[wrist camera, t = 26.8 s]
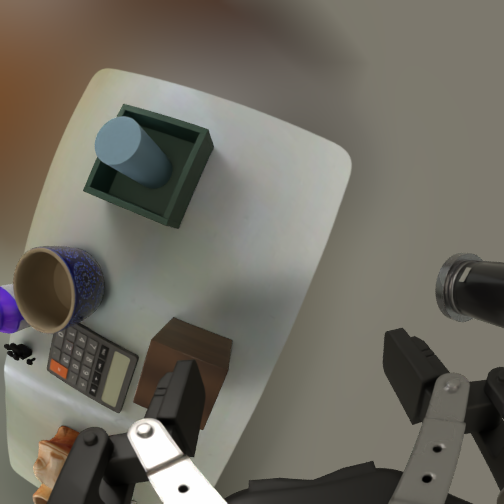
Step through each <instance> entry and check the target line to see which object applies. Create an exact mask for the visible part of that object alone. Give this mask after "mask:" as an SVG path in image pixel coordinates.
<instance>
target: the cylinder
mask: <svg viewBox="0 0 504 504" xmlns="http://www.w3.org/2000/svg"><path fill="white" fill-rule="evenodd" d="M95 151H96V154H97V156H98V158H99V159H100V160H101V161H102V162H103V163H105V164H107V165H109V166H110V167H112V168H114V169H115V170H117V171H119V172H121V173H122V174H124V175H126V176H128V177H129V178H131V179H133V180H135V181H136V182H138V183H140V184H142V185H143V186H145V187H147V188H150V189H156V188H160V187H162V186H163V185H165V184H166V183H167V182H168V181H169V179H170V177H171V175H172V169H173V168H172V163H171V161H170V159H169V158H168V157H167V156H166V155H165V154H164V152H163V151H162V150H161V149H160V148H159V147H158V146H157V145H156V143H155V142H154V141H153V140H152V139H151V138H150V137H149V136H148V134H147V133H146V132H145V131H144V130H143V129H142V128H141V127H140V125H139V124H138V123H137V122H136V121H135V120H133V119H132V118H129V117H116V118H114V119H111V120H110V121H108V122H107V123H106V124H104V126H103V127H102V128H101V129H100V131H99V132H98V134H97V137H96V140H95Z"/></svg>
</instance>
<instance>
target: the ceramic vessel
mask: <svg viewBox="0 0 504 504" xmlns="http://www.w3.org/2000/svg"><path fill="white" fill-rule="evenodd" d="M78 435H79V432H77V431H75V430H73V429H71V428H68V427H66V426H61V427H60V428H59V429H58V432H57V434H56V435H55V437H54V438H52V439H51V440H49V441H48V440H42V441H40V442H39V453H38V459H37V460H36V462H35V464H34V466H33V469H34V474H35V476H36V477H37V479H38V480H39V481H40V482H42V485H41V486H40V488H39V489H38V490H37V491H36V492H35V494H34V495H33V501H34V503H35V504H46V503H47V501H48V499H49V496H50V494H51V492H52V489H53V487H54V485H55V482H56V480H57V478H58V476H59V474H60V471H61V469H62V467H63V465H64V463H65V461H66V458H67V456H68V454H69V452H70V450H71V448H72V446H73V444H74V442H75V440H76V438H77V436H78Z"/></svg>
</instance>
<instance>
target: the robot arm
mask: <svg viewBox="0 0 504 504" xmlns="http://www.w3.org/2000/svg"><path fill="white" fill-rule="evenodd" d="M449 299H450V303H451V306H452V308H453V309H454V310H455V311H456V312H457V313H458V314H461V315H464V316H469V317H472V318H475V319H477V320H481V321H484V322H487V323H490V324H493V325H496V326H499V327H502V328H504V263H502V262H489V261H478V262H476V261H466V262H464V263H462V264H461V265H459V266H458V268H457V269H456V270H455V272H454V273H453V276H452V278H451V281H450V286H449ZM383 368H384V372H385V374H386V376H387V378H388V380H389V382H390V384H391V385H392V387H393V389H394V391H395V392H396V395H397V397H398V398H399V400H400V402H401V404H402V406H403V408H404V410H405V412H406V414H407V416H408V417H409V419H410V421H411V423H412V425H414V424H417V423H419V422H422V426H421V429H420V432H419V435H418V438H417V440H416V443H415V446H414V448H413V451H412V453H411V455H410V458H409V460H408V463H407V465H406V468H405V470H404V472H401V471H398V470H394V469H386V468H375V465H374V462H373V461H370V462H366V463H363V464H358V465H354V466H350V467H345V468H342V469H340V470H337V471H335V472H333V473H330V474H327V475H325V476H322V477H320V478H317V479H314V480H302V479H288V478H273V479H262V480H249V488H248V489H244V490H241V491H238V492H236V493H234V494H232V495H230V496H228V497H226V498H225V499H223V498H222V497H221V495H220V494H219V493H218V492H217V491H216V490H215V489H214V488H213V486H212V485H211V484H210V483H209V482H208V481H207V479H206V478H205V477H204V476H203V475H202V473H201V472H200V471H199V470H198V468H197V467H196V466H195V465H194V463H193V462H192V461H191V460H190V458H189V457H194V456H195V450H196V445H197V440H198V435H199V430H200V425H201V420H202V415H203V410H204V405H205V399H206V394H205V387H204V384H203V381H202V378H201V374H200V371H199V368H198V365H197V362H196V360H195V359H192V360H178V361H177V362H176V365H175V367H174V370H173V372H167V373H166V374H165V375H164V376H163V377H162V378H161V379H160V380H159V382H158V385H157V387H156V390H155V392H154V396H153V397H152V399H151V402H150V404H149V407H148V409H147V412H146V414H145V417H144V419H141V420H138V421H136V422H135V423H133V424H132V425H131V426H130V428H129V429H128V432H127V433H123V434H117V435H111V436H108V434H107V433H106V431H105V430H104V429H102V428H99V427H91V428H87V429H85V430H83V431H82V432H81V433H79V435H78V436H77V438H76V440H75V442H74V444H73V446H72V448H71V450H70V452H69V454H68V456H67V458H66V461H65V463H64V465H63V467H62V469H61V471H60V474H59V476H58V478H57V480H56V482H55V485H54V487H53V489H52V492H51V494H50V496H49V499H48V501H47V503H46V504H131V500H132V496H133V492H134V488H135V484H136V483H139V482H146V481H150V482H151V484H152V485H153V487H154V489H155V490H156V492H157V494H158V495H159V497H160V498H161V500H162V502H163V503H164V504H472V503H470V502H467V501H465V500H463V499H460V498H458V497H455V496H453V495H451V494H449V493H448V491H449V488H450V485H451V482H452V479H453V476H454V472H455V469H456V465H457V461H458V458H459V453H460V450H461V445H462V441H463V436H464V434H468V433H471V434H472V436H473V438H474V440H475V442H476V444H477V445H478V447H479V449H480V451H481V453H482V455H483V457H484V459H485V460H486V463H487V464H488V466H489V468H490V470H491V472H492V474H493V476H494V478H495V481H496V483H497V485H498V487H499V489H500V491H501V492H500V493H499V495H498V498H497V504H504V421H503V419H504V367H497V368H495V369H492V370H491V371H490V372H489V374H488V377H487V380H481V381H473V382H469V381H468V379H467V378H466V377H465V376H463V375H461V374H458V373H450V372H449V371H448V370H447V368H446V367H445V366H444V365H443V363H442V362H441V361H440V360H439V359H438V357H437V356H436V355H434V352H433V351H432V350H431V349H430V348H429V346H428V345H427V344H426V343H425V342H424V341H422V340H421V339H419V338H417V337H415V336H414V337H410V336H409V335H408V334H407V332H406V331H405V330H404V329H403V328H399V329H395V330H391V331H387V332H386V333H385V337H384V353H383ZM502 418H503V419H502Z"/></svg>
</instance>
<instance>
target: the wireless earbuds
mask: <svg viewBox="0 0 504 504" xmlns="http://www.w3.org/2000/svg"><path fill="white" fill-rule="evenodd" d="M4 347H5V348H6V349H7V350H12V351H13V352H12V351H8V352H7V354H8V355H9V356H10V357H13V358H14V359H15V360H17V361H18V360H19V358H21V359H22V360H24V359H25V358H27V357H29V356H31V355H32V351H31V349H30V348H28V347H27V346H25V345H24V344H19V345H16V344H14V343H11V344H10V346H9V344H5V345H4ZM13 353H14V354H13ZM34 360H35V358H33V359H31V360H30V359H27V364H29V365H32V364H33V362H32V361H34Z"/></svg>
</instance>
